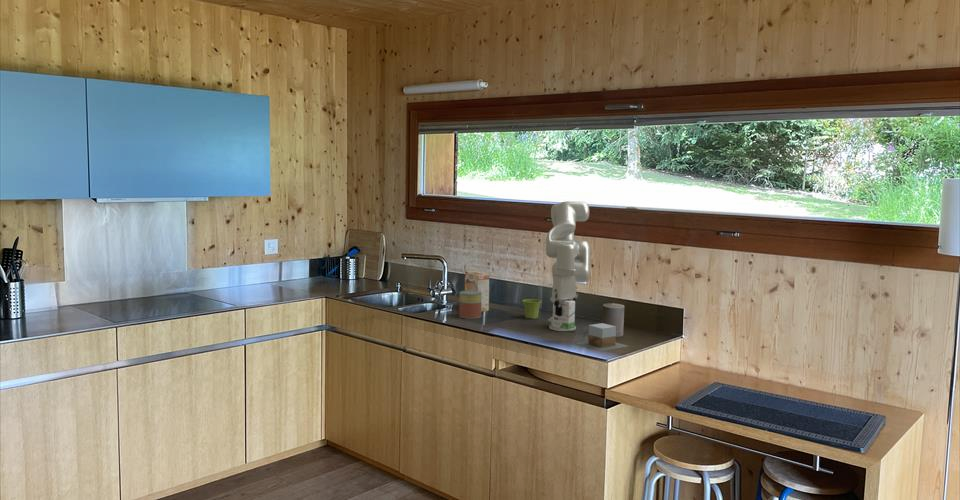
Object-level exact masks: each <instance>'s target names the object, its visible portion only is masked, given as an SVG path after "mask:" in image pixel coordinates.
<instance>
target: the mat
mask: <svg viewBox="0 0 960 500" xmlns="http://www.w3.org/2000/svg"><path fill="white" fill-rule="evenodd" d="M575 344H576V345H580V346H582V347H586V348H590V349H593V350H597V351H600V352H606V351H610V350H615V349H621V348H626V347H628V344H623V343H619V342H616V343H615V345H614V346H609V347H603V348H601V347H598V346H594V345H591V344H588V340H586V341H579V342H575Z"/></svg>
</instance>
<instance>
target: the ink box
mask: <svg viewBox="0 0 960 500" xmlns="http://www.w3.org/2000/svg"><path fill="white" fill-rule="evenodd" d="M555 300H556V299H555ZM558 303H559V301H558ZM555 307H556V306H554V304H553V303H552V317H553V326H555V327H559V328H563V329H568V330H569V329H572V328H574V326H576V325H575V324H576V323H575V320H576V319H575V318H576V300H575V301H571V300H562V303H561V306H560V307H562V313H561V316H557V315H555Z"/></svg>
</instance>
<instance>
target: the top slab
mask: <svg viewBox="0 0 960 500" xmlns="http://www.w3.org/2000/svg"><path fill="white" fill-rule="evenodd" d="M588 335H592V336H596V337H600V338H607V337H612V336H616V326H612V325H608V324H604V323H602V322H601V323H600V322H599V323H594V324H588Z"/></svg>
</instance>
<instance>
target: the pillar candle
mask: <svg viewBox="0 0 960 500" xmlns="http://www.w3.org/2000/svg"><path fill="white" fill-rule="evenodd" d="M624 319H625V305H623V304H620V303H614V302H612V303H611V302H610V303H609V302H608V303H603V305H602V315H601V323H604V324H608V325H612V326H616V338H619V337H623V336H624V322H625V320H624Z"/></svg>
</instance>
